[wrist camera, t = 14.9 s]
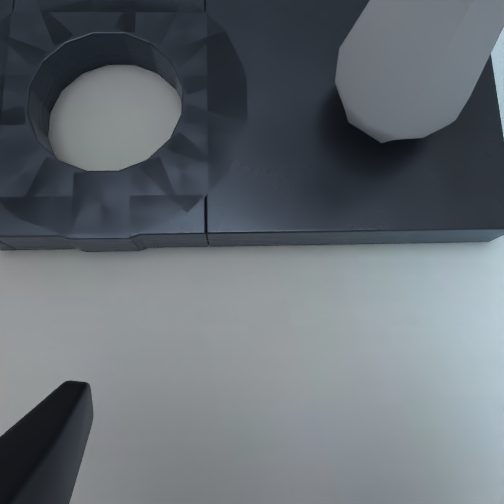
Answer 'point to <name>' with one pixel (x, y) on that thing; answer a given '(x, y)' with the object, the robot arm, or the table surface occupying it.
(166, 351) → the table surface
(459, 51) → the white rounded peg
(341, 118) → the plate
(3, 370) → the table surface
